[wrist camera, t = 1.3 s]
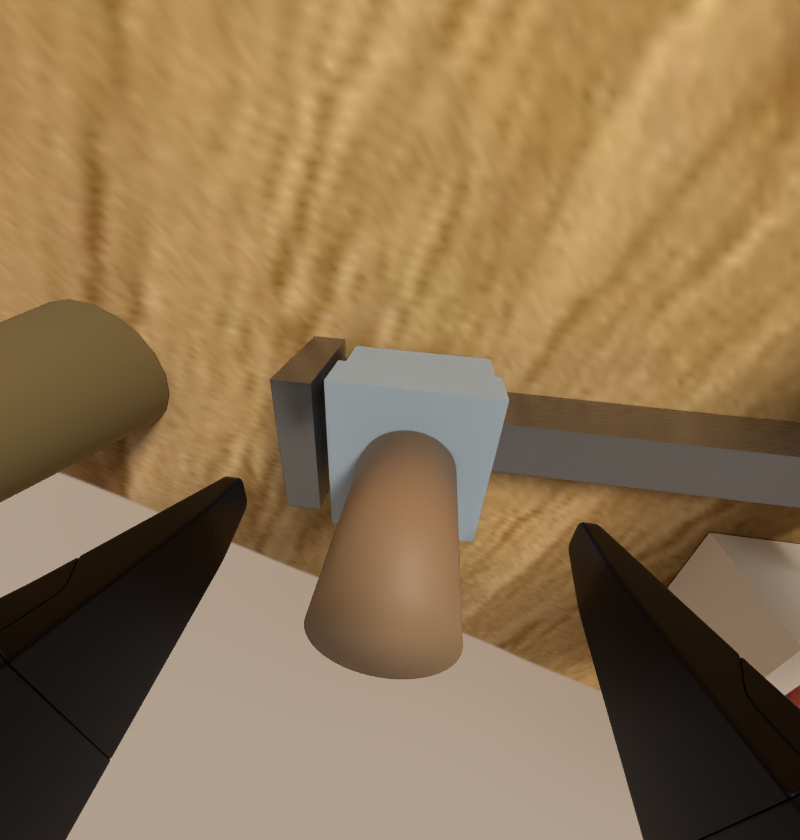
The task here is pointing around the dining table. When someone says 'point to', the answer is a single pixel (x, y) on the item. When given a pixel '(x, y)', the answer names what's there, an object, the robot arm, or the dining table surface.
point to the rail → (566, 442)
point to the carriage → (402, 506)
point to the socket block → (749, 600)
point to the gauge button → (794, 696)
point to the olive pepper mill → (70, 389)
